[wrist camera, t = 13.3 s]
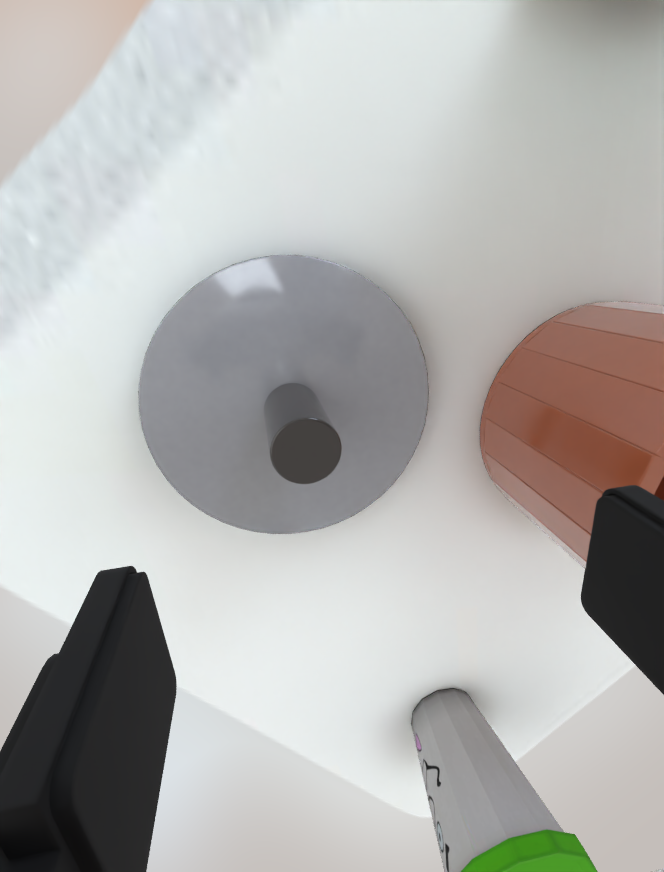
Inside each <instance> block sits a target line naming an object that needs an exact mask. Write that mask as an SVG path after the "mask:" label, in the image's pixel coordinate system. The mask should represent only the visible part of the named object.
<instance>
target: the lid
mask: <svg viewBox="0 0 664 872" xmlns="http://www.w3.org/2000/svg"><path fill="white" fill-rule="evenodd" d="M138 393H139V414H140V419H141V425H142V430H143V433H144V436H145V439H146V442H147V445H148V448H149V450H150V452H151V454H152V456H153V458H154V460H155V462H156V464H157V466H158V467H159V469H160V470H161V472H162V473H163V475H164V476H165V478H166V479H167V480H168V481H169V483H170V484H171V485H172V486H173V487H174V488H175V489H176V490H177V492H178V493H179V494H180V495H182V496H183V497H184V498H185V499H186V500H187V501H189V502H190V503H191V504H192V505H193V506H195V507H196V508H198V509H199V510H201V511H202V512H204V513H205V514H207V515H209V516H211V517H213V518H215V519H217V520H219V521H221V522H223V523H226V524H229V525H232V526H234V527H237V528H241V529H245V530H249V531H254V532H261V533H270V534H292V533H301V532H308V531H312V530H317V529H321V528H324V527H327V526H330V525H333V524H336V523H339V522H341V521H343V520H345V519H347V518H349V517H351V516H353V515H355V514H357V513H358V512H360V511H361V510H363V509H365V508H366V507H368V506H369V505H370V504H372V503H373V502H374V501H375V500H377V499H378V498H379V497H380V496H382V495H383V494H384V493H385V492H386V491H387V490H388V489H389V488H390V487H391V486H392V485H393V483H394V482H395V481H396V480H397V478H398V477H399V476H400V475H401V473H402V472H403V471H404V469H405V467H406V466H407V464H408V463H409V461H410V459H411V458H412V456H413V454H414V452H415V449H416V447H417V445H418V443H419V441H420V437H421V434H422V431H423V428H424V425H425V420H426V415H427V409H428V394H429V388H428V374H427V369H426V364H425V359H424V355H423V352H422V349H421V346H420V343H419V340H418V338H417V336H416V334H415V332H414V330H413V328H412V326H411V324H410V323H409V321H408V320H407V318H406V317H405V315H404V314H403V313H402V311H401V310H400V308H399V307H398V306H397V305H396V304H395V303H394V302H393V301H392V299H391V298H390V297H389V296H388V295H387V294H386V293H385V292H384V291H382V290H381V289H380V288H379V287H377V286H376V285H375V284H374V283H373V282H371V281H370V280H368V279H366V278H365V277H363V276H361V275H360V274H358V273H357V272H355V271H353V270H351V269H348V268H346V267H344V266H341V265H339V264H337V263H333V262H330V261H326V260H322V259H319V258H314V257H307V256H299V255H273V256H266V257H260V258H254V259H250V260H246V261H243V262H240V263H237V264H233V265H231V266H229V267H226V268H224V269H222V270H220V271H218V272H216V273H214V274H212V275H210V276H209V277H207V278H206V279H204V280H203V281H201V282H200V283H198V284H197V285H195V286H194V287H193V288H192V289H190V290H189V291H188V292H187V293H186V294H185V295H184V296H183V297H181V298H180V299H179V300H178V301H177V302H176V304H175V305H174V306H173V307H172V308H171V310H170V311H169V312H168V313H167V314H166V316H165V317H164V318H163V320H162V322H161V323H160V325H159V327H158V328H157V330H156V331H155V333H154V335H153V337H152V340H151V342H150V344H149V347H148V349H147V351H146V354H145V358H144V362H143V365H142V369H141V374H140V383H139V391H138Z"/></svg>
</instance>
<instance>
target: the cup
mask: <svg viewBox="0 0 664 872" xmlns="http://www.w3.org/2000/svg"><path fill="white" fill-rule="evenodd" d="M411 725H412V729H413V734H414V738H415V743H416V747H417V751H418V756H419V760H420V765H421V769H422V774H423V778H424V783H425V787H426V792H427V796H428V801H429V805H430V809H431V814H432V818H433V823H434V827H435V832H436V836H437V841H438V845H439V850H440V854H441V858H442V863H443V867H444V872H597V870H596V868H595V866H594V865H593V863H592V861H591V860H590V858H589V856H588V854H587V853H586V851H585V849H584V848H583V846H582V845H581V843H580V842H579V840H578V838H577V837H576V835H575V834H570V833H565V832H564V831H563V830H562V828H561V827H560V826H559V824H558V823H557V821H556V820H555V818H554V817H553V816H552V814H551V813H550V811H549V810H548V808H547V807H546V806H545V804H544V803H543V801H542V800H541V798H540V797H539V795H538V794H537V793H536V791H535V790H534V788H533V787H532V786H531V784H530V783H529V781H528V780H527V779H526V777H525V775H524V774H523V773H522V771H521V770H520V769H519V767H518V766H517V764H516V763H515V761H514V760H513V758H512V757H511V755H510V754H509V753H508V751H507V750H506V748H505V747H504V745H503V744H502V743H501V741H500V740H499V738H498V737H497V735H496V734H495V733H494V731H493V730H492V728H491V727H490V725H489V724H488V723H487V721H486V720H485V718H484V717H483V715H482V714H481V713H480V711H479V710H478V708H477V707H476V705H475V704H474V703H473V701H472V700H471V698H470V697H469V695H468V694H467V693H466V692H464V691H460V690H457V689H454V688H452V689H446V690H440V691H436V692H435V693H433V694H431V695H429V696H428V697H426V698H424V699H422V700H421V702H420V703H419V704H418V706H417V707H416V708H415V710H414V711H413V713H412V723H411Z"/></svg>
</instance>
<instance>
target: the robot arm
mask: <svg viewBox="0 0 664 872" xmlns="http://www.w3.org/2000/svg"><path fill="white" fill-rule="evenodd" d="M581 602H582V605H583V607H584V609H585V611H586V612H587V614H588V615H589V616H590V617H591V618H592V619H593V620H594V621H595V622H596V623H597V624H598V626H599V627H600V628H601V629H602V630H603V631H604V632H605V633H606V634H607V635H608V636H609V637H610V638H611V639H612V640H613V641H614V642H615V644H616V645H617V646H618V647H619V648H620V649H621V650H622V651H623V652H624V653H625V654H626V655H627V656H628V657H629V658H630V659H631V661H632V662H633V663H634V664H635V665H636V666H637V667H638V668H639V669H640V670H641V671H642V672H643V673H644V674H645V675H646V676H647V678H648V679H650V681H651V682H652V683H653V684H654V685H655V686H656V687H657V688H658V689H659V690H660V691H661V692H662V693H663V694H664V500H662V499H660V498H658V497H657V496H655V495H653V494H652V493H650V492H648V491H647V490H645V489H643V488H642V487H639V486H637V485H629V486H623V487H617V488H610V489H607V490H605V491H604V493H603V494H602V497H601V498H599V499H598V500H597V503H596V508H595V514H594V520H593V526H592V532H591V538H590V544H589V550H588V556H587V562H586V568H585V574H584V580H583V586H582V592H581ZM175 698H176V676H175V671H174V668H173V664H172V661H171V657H170V654H169V650H168V647H167V643H166V640H165V636H164V633H163V629H162V626H161V622H160V619H159V615H158V612H157V608H156V605H155V601H154V598H153V594H152V591H151V587H150V584H149V580H148V577H147V575H146V573H145V572H140V573H137V572H136V569H135V568H134V567H133V566H128V567H121V568H115V569H109V570H103V571H100V572H99V573H98V574H97V575H96V577H95V579H94V582H93V584H92V586H91V588H90V590H89V592H88V594H87V596H86V598H85V600H84V602H83V604H82V606H81V609H80V611H79V613H78V615H77V617H76V619H75V621H74V623H73V625H72V627H71V629H70V631H69V634H68V636H67V638H66V640H65V642H64V644H63V646H62V648H61V650H60V652H59V654H54V655H52V656H51V657H50V658H49V659H48V660H47V661H46V663H45V665H44V666H43V668H42V670H41V672H40V673H39V675H38V678H37V679H36V681H35V683H34V685H33V688H32V689H31V691H30V693H29V695H28V697H27V699H26V701H25V703H24V705H23V707H22V709H21V711H20V713H19V715H18V717H17V719H16V721H15V723H14V725H13V727H12V729H11V731H10V733H9V735H8V737H7V739H6V741H5V743H4V745H3V747H2V749H1V751H0V872H146V869H147V863H148V857H149V851H150V845H151V840H152V833H153V827H154V822H155V816H156V810H157V803H158V798H159V792H160V786H161V780H162V774H163V769H164V763H165V757H166V751H167V745H168V739H169V733H170V726H171V721H172V715H173V709H174V703H175ZM652 872H664V868H663V869H660V870H656V871H652Z"/></svg>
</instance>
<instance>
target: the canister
mask: <svg viewBox="0 0 664 872" xmlns="http://www.w3.org/2000/svg"><path fill="white" fill-rule="evenodd" d="M480 446H481V452H482V458H483V461H484V464H485V467H486V470H487V472H488V474H489V476H490V478H491V480H492V481H493V483H494V484H495V485H496V487H497V488H498V489H499V490H500V491H501V492H502V493H503V494H504V495H505V496H506V498H507V499H508V500H509V501H510V502H511V503H512V504H513V505H514V506H515V507H516V508H518V509H519V510H520V511H521V512H522V513H523V514H524V515H525V516H527V517H528V518H529V519H530V520H531V521H532V522H533V523H534V524H535V525H537V526H538V527H539V528H540V529H541V530H542V531H543V532H544V533H546V534H547V535H548V536H549V537H550V538H551V539H552V540H553V541H554V542H556V543H557V544H558V545H559V546H560V547H561V548H562V549H563V550H565V551H566V552H567V553H568V554H569V555H570V556H571V557H572V558H573V559H575V560H576V561H577V562H578V563H579V564H580V565H581V566H582V567H584V568H586V562H587V556H588V550H589V544H590V538H591V532H592V526H593V520H594V514H595V508H596V503H597V500H598V499H599V498H601V497H602V494H603V493H604V491H605V490H607V489H610V488H617V487H623V486H629V485H637V486H639V487H642V488H643V489H645V490H647V491H648V492H650V493H652V494H653V495H655V496H657V497H658V498H660V499H662V500H664V305H655V304H645V303H636V302H626V301H618V302H612V301H611V302H595V303H590V304H584V305H581V306H578V307H575V308H572V309H569V310H567V311H565V312H563V313H561V314H558V315H556V316H554V317H553V318H551V319H550V320H548V321H546V322H545V323H543V324H542V325H540V326H539V327H538V328H537V329H535V330H534V331H533V332H532V333H530V334H529V335H528V336H527V337H526V338H525V339H524V340H523V341H522V342H521V343H520V344H519V345H518V346H517V347H516V348H515V349H514V351H513V352H512V353H511V354H510V356H509V357H508V358H507V359H506V361H505V362H504V364H503V365H502V367H501V369H500V370H499V372H498V373H497V375H496V377H495V379H494V381H493V383H492V385H491V387H490V390H489V393H488V395H487V398H486V401H485V404H484V408H483V413H482V417H481V426H480Z"/></svg>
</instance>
